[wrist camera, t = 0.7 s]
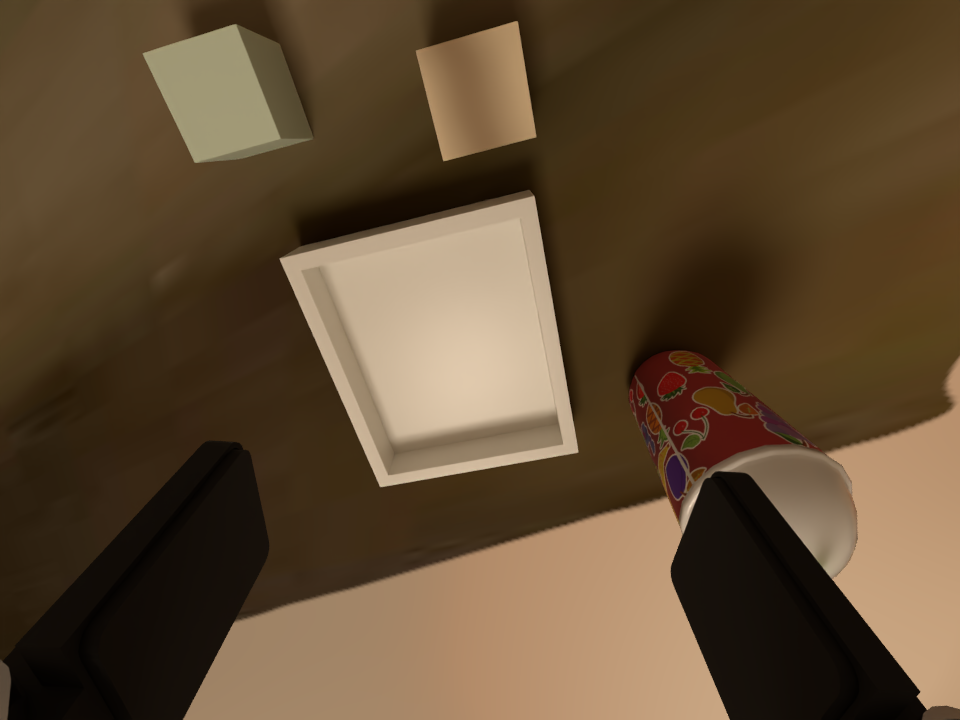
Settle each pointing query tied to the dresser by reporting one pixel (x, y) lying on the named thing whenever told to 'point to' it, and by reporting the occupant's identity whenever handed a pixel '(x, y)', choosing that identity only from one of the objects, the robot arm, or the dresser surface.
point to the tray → (441, 339)
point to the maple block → (478, 91)
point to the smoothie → (739, 451)
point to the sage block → (230, 94)
